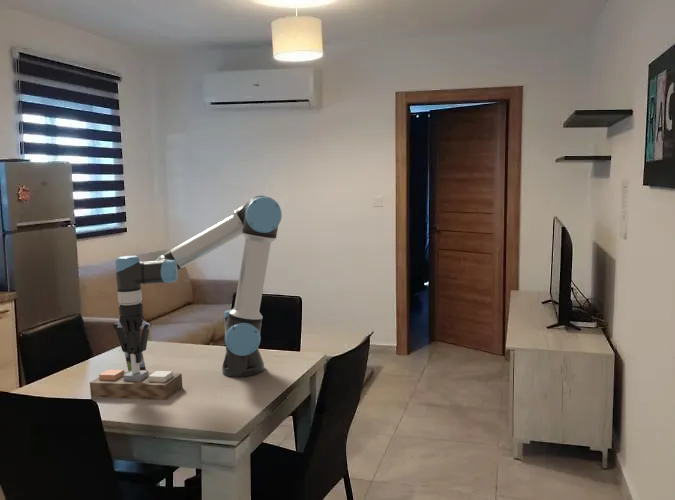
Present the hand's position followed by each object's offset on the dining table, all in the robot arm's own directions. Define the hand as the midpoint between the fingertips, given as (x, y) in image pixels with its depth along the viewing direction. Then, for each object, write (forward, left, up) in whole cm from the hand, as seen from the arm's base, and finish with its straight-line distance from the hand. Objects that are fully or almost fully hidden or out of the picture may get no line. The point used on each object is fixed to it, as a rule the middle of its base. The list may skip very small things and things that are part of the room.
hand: (135, 372), depth 213 cm
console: (0, 0, -7) cm, 7 cm away
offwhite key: (-9, 0, -4) cm, 10 cm away
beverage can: (+10, -17, -7) cm, 21 cm away
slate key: (0, 0, -4) cm, 4 cm away
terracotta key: (+9, 0, -4) cm, 10 cm away
